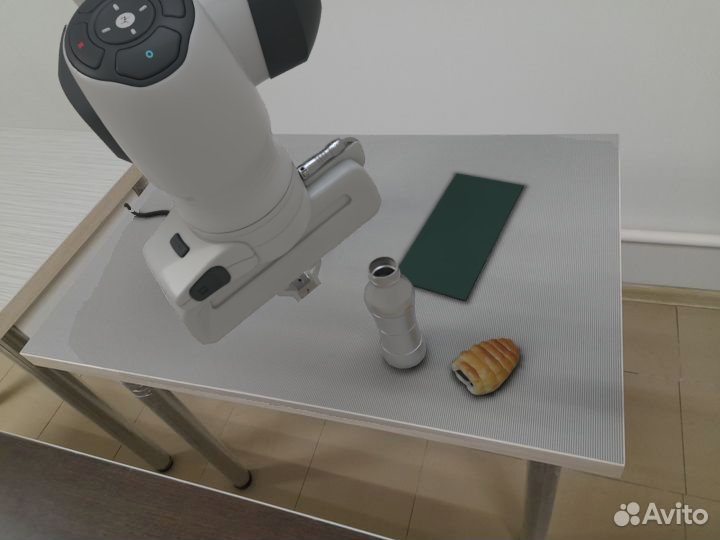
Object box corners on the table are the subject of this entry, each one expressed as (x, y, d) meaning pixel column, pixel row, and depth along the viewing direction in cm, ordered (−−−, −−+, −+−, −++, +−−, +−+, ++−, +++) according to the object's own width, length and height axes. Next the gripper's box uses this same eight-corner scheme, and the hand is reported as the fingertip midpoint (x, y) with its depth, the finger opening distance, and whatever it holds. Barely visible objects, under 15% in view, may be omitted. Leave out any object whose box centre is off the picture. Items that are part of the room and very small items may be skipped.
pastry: (497, 334, 76) (497, 319, 74) (532, 365, 72) (533, 350, 69) (447, 370, 74) (445, 356, 71) (480, 405, 70) (479, 391, 67)
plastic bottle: (425, 376, 74) (406, 288, 60) (379, 372, 76) (350, 287, 61) (430, 338, 78) (414, 247, 64) (386, 335, 80) (360, 246, 65)
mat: (465, 301, 81) (465, 299, 81) (391, 279, 87) (391, 278, 87) (523, 186, 96) (523, 185, 95) (456, 174, 101) (456, 173, 101)
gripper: (331, 107, 43) (366, 206, 55) (123, 263, 40) (208, 333, 51) (380, 145, 40) (406, 242, 51) (157, 318, 36) (239, 379, 48)
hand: (305, 288), depth 51 cm, fingers closed
